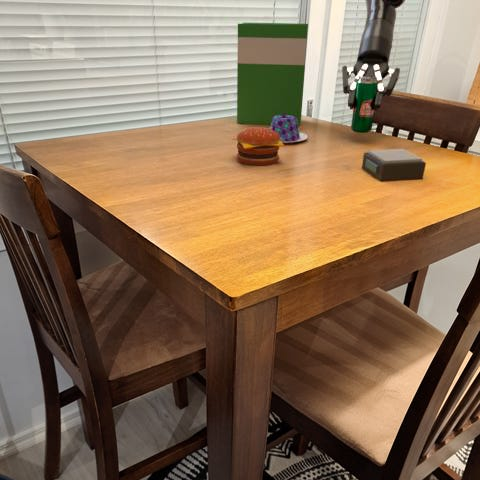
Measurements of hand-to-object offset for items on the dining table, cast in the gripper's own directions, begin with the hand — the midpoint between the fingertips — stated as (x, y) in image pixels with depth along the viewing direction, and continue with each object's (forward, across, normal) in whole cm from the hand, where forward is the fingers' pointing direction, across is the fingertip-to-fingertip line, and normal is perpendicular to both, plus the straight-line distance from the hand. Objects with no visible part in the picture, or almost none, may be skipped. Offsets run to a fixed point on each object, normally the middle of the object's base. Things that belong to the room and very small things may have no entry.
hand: (363, 107), depth 117 cm
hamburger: (+22, -19, -11) cm, 31 cm away
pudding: (+8, -18, +4) cm, 20 cm away
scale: (+22, +9, -11) cm, 27 cm away
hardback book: (-5, -27, +17) cm, 32 cm away
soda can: (+3, 0, +5) cm, 6 cm away
